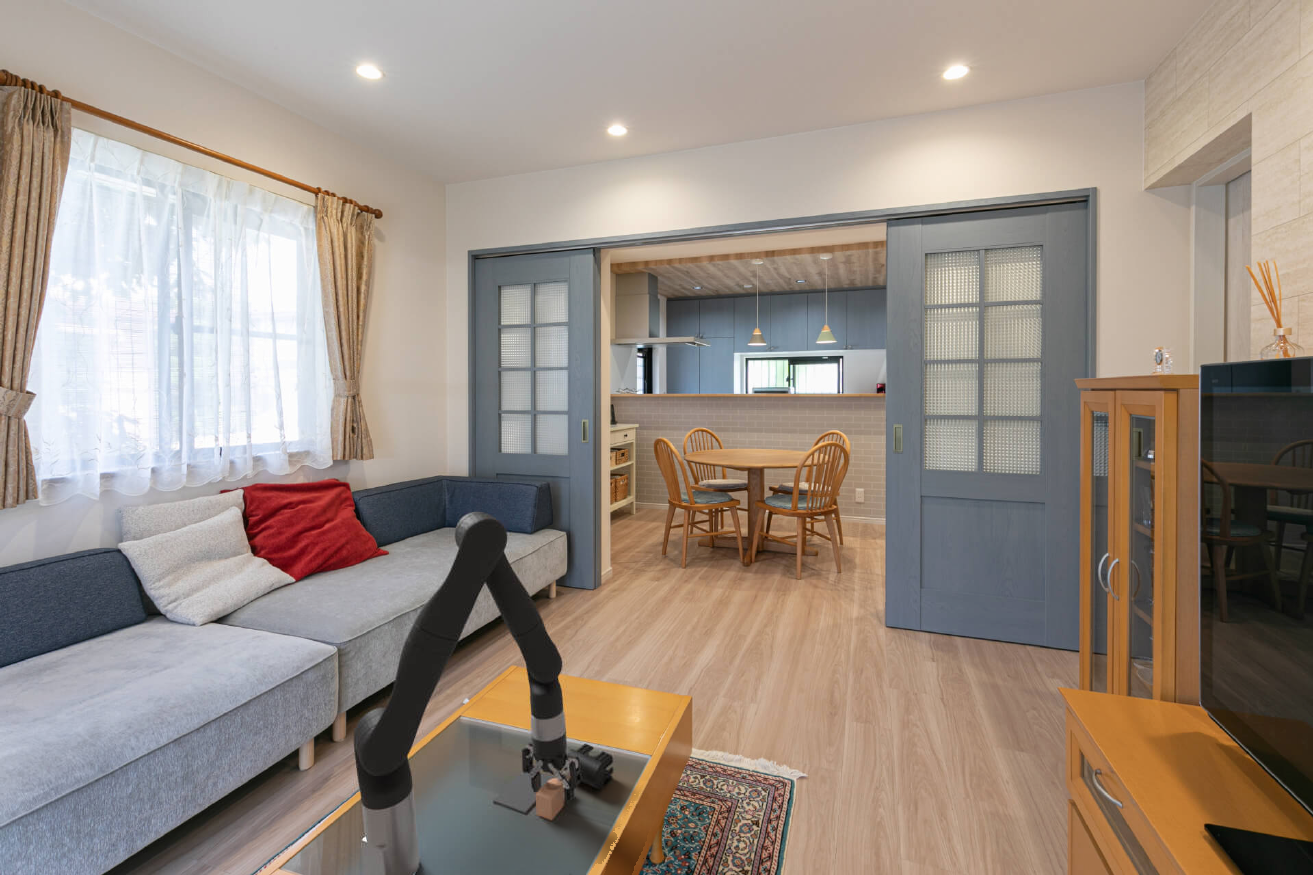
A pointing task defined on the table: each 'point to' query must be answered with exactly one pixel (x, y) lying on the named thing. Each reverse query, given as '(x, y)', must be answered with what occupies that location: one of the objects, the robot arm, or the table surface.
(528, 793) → the mat
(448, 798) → the table surface
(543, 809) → the plug
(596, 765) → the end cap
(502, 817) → the table surface
